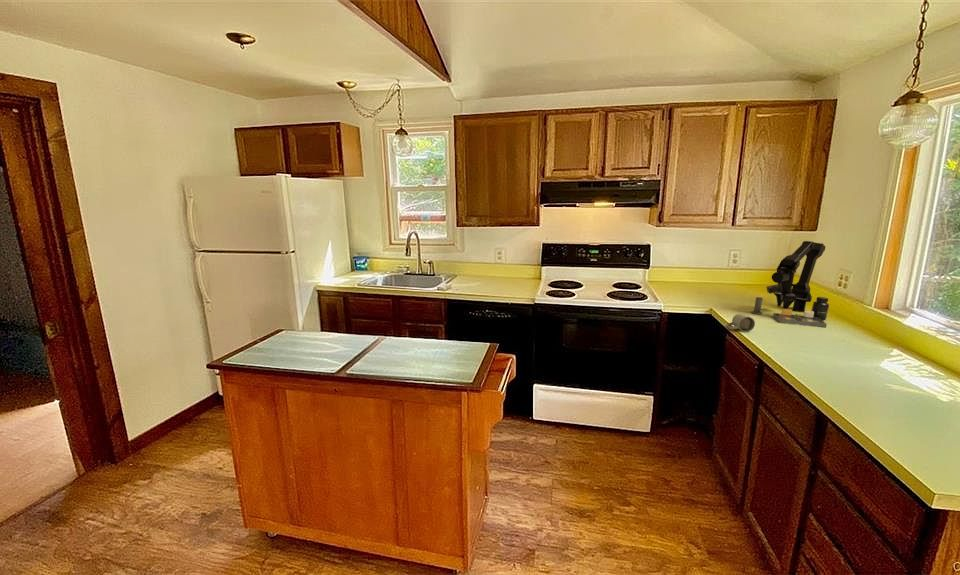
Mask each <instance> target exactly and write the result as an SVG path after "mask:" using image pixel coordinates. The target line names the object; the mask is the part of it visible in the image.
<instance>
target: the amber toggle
mask: <svg viewBox="0 0 960 575" xmlns="http://www.w3.org/2000/svg"><path fill="white" fill-rule="evenodd" d="M792 311H793V310H792V309H791V308H787V309H783V308H782V309H781V314H782V315H790V316H791V315H792Z"/></svg>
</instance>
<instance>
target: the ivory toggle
mask: <svg viewBox="0 0 960 575" xmlns="http://www.w3.org/2000/svg"><path fill="white" fill-rule="evenodd" d="M803 316H804V317H811V318H813V316H814V312H813V311H812V310H806V311H804V312H803Z"/></svg>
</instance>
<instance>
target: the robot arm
mask: <svg viewBox="0 0 960 575" xmlns="http://www.w3.org/2000/svg"><path fill="white" fill-rule="evenodd" d="M825 251H826V245H824V243H822V242H815V241H813V240H812V241H811V240H810V241H809V240H804V241H803V242H802V243H801V244H800V246H798V248H797V249H796V250H794V252H793V253H792V254H789V255H786V256H785V257H783V258H782V259H781V261H780V263H779V264H778V266H777V268H776V272H774V273H773V274H772V275H771V280H772V282H774V283H776V284H771V285H768V286H766V291H767V293H768V294H770V295H771V294H773V295H774V296H775V297H776V306H777V307H781V305H782V309H791V310H792V311H793V312H801V311H803V313H804V311H807V310H806V306H807V303H811V301H812V299H813V297H812V294H811V287H810V285H809V284H810V280H811V277H812V275H813V272H814V270H815V265H816V263H817V260H818V259H819V258H820V257H821V256H823V253H824V252H825ZM804 257H805V261H804V264H803V267H802V270H801V273H800V277H799V279H798V281H797V282H796V283H794V280H795V279H794V278H795V275H796V273H797V269H798V268H799V267H800V265H801V262H800V261H801V260H802V259H803V258H804ZM792 304H793V305H792ZM791 305H792V307H790V306H791Z"/></svg>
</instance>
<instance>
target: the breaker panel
mask: <svg viewBox="0 0 960 575" xmlns="http://www.w3.org/2000/svg"><path fill="white" fill-rule="evenodd" d="M772 318H774V319H775V320H776V321H777V322H779V324H786V323H788V324H789V325H796V324H799V326H806V325H809V326H808V327H816V326H817V327H819V328H827V323H826V322H825V321H822V320H821V319H819V318H818V317H813V318H811V317H804V315H800V314H798V313H794V314H791V316H790V315H782V313H779V312H773V314H772Z"/></svg>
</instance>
